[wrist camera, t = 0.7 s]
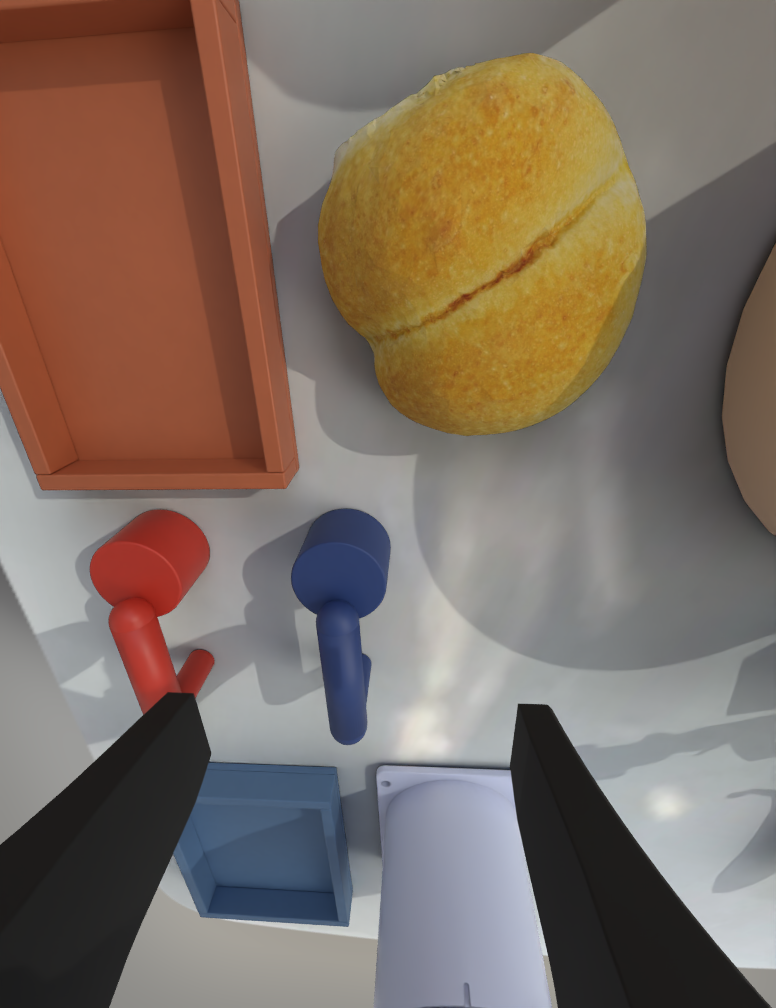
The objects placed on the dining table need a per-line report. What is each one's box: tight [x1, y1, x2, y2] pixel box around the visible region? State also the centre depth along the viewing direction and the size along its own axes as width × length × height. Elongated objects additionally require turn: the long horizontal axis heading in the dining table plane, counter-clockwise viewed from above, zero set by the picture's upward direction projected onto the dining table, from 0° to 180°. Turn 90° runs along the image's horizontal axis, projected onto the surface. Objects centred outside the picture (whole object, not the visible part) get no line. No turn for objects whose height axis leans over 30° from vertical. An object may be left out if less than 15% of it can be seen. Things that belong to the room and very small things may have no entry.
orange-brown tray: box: [0, 0, 299, 490], centre depth 14 cm, size 13×9×2 cm
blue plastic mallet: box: [291, 509, 391, 745], centre depth 18 cm, size 9×3×4 cm, turn 2°
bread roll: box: [318, 53, 647, 436], centre depth 12 cm, size 8×9×4 cm
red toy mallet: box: [90, 510, 214, 715], centre depth 18 cm, size 9×3×4 cm, turn 2°
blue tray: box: [173, 763, 353, 927], centre depth 27 cm, size 13×10×2 cm
